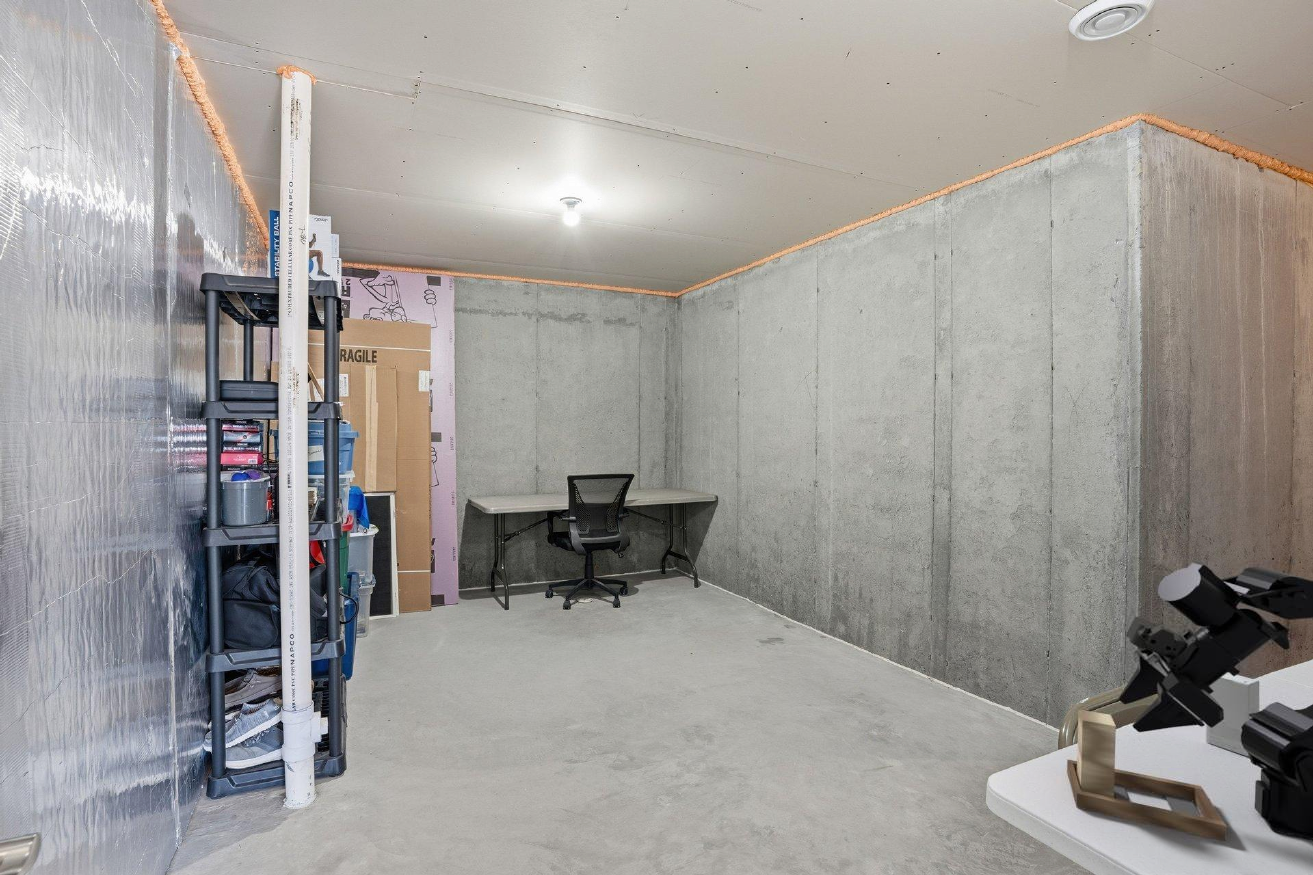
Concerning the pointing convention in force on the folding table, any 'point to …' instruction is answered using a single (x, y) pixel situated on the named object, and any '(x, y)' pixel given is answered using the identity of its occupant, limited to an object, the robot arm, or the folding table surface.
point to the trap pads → (1173, 801)
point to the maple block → (1096, 753)
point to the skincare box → (1233, 710)
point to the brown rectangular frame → (1197, 825)
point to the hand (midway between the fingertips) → (1128, 714)
